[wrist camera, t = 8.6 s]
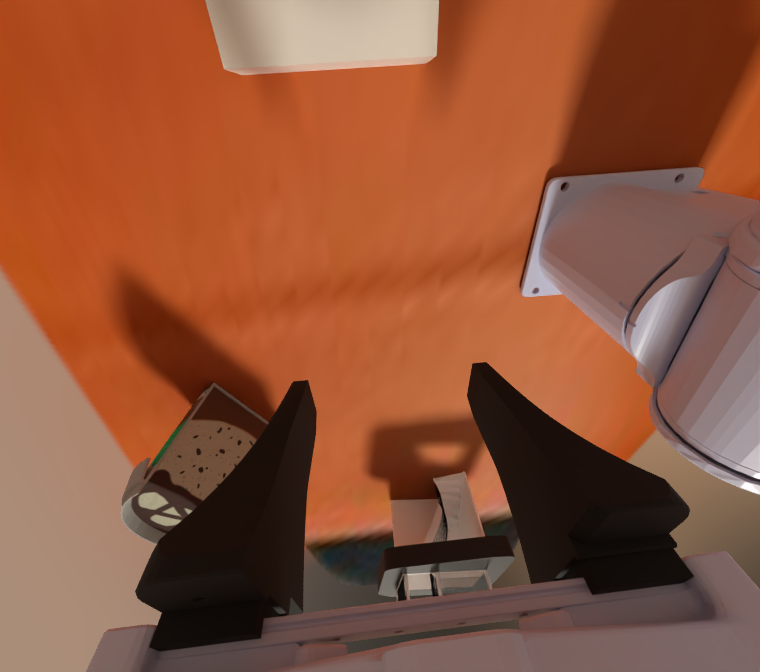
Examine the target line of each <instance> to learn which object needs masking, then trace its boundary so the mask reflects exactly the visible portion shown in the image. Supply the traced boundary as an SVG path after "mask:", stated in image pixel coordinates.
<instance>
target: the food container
mask: <svg viewBox="0 0 760 672" xmlns="http://www.w3.org/2000/svg"><path fill="white" fill-rule="evenodd" d="M268 423H269V422H268V421H266V420H265V419H264V418H262V417H261V416H259V415H258V414H257V413H255V412H254V411H253V410H251V409H250V408H248V407H247V406H246V405H244V404H243V403H242V402H240V401H239V400H238V399H236V398H235V397H233V396H232V395H231V394H229V393H228V392H227V391H225V390H224V389H223V388H221V387H220V386H218V385H217V384H216V383H214V382H213V383H212V384H210V385H209V386H208V387H206V388H205V389H204V391H203V392H202V394H201V395H200V396H199V398H198V399H197V400H196V402H195V403H194V405H193V406H192V407H191V409H190V410H189V412H188V413H187V414H186V416H185V417H184V418H183V420H182V421H181V423H180V424H179V425H178V427H177V428H176V430H175V431H174V432H173V434H172V435H171V436H170V438H169V439H168V441H167V442H166V443H165V445H164V446H163V448H162V449H161V450H160V452H159V453H158V455H157V456H156V457H155V459H154V460H153V461H152V463H151V464H150V466H149V467H148V464H149V461H150V459H151V458H147V459H145V460H144V461H142V462H141V463H139V465H138V466H137V467H136V468H135V469H134V470H133V472H132V474H131V476H130V479H129V481H128V484H127V487H126V490H125V492H124V495H123V498H122V509H121V518H122V521H123V523H124V524H125V525H126V527H127V528H128V529H129V530H130V531H131V532H132V533H134V534H135V535H137V536H139V537H140V538H142V539H144V540H146V541H148V542H150V543H153V544H156V545H157V543H158V541H159V539H160V538H162V537H163V536H164V535H165V534H167V533H168V532H169V531H170V530H171V529H172V528H174V527H175V526H176V525H177V524H178V523H179V522H180V521H182V520H183V519H184V518H185V517H186V516H187V515H189V514H190V513H191V512H192V511H193V510H194V509H195V508H196V507H197V506H198V505H199V504H200V503H201V502H202V501H203V500H204V499H205V498H206V497H207V496H208V495H209V494H210V493H211V492H213V491H214V490H215V489H216V488H217V487H218V486H219V484H220V483H221V482H222V481H223V480H224V479H225V478H226V477H227V476H228V475H229V474H230V472H231V471H232V470H233V469H234V468H235V467H236V466H237V465H238V463H239V462H240V461H241V460H242V459H243V457H244V456H245V455H246V454H247V452H248V451H249V450H250V449H251V447H252V446H253V445H254V443H255V442H256V441H257V439H258V438H259V436H260V435H261V433H262V432H263V431H264V429H265V428H266V426H267V425H268ZM147 467H148V468H147Z"/></svg>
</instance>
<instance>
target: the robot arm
mask: <svg viewBox="0 0 760 672" xmlns="http://www.w3.org/2000/svg"><path fill="white" fill-rule="evenodd" d="M678 175H679V176H678ZM703 175H704V169H703V168H699V167H687V168H674V169H660V170H647V171H633V172H620V173H606V174H593V175H579V176H566V177H555V178H552V179H551V180H550V181H549V182H548V183H547V185H546V187H545V192H544V196H543V200H542V204H541V208H540V212H539V216H538V220H537V224H536V228H535V232H534V236H533V240H532V244H531V248H530V252H529V256H528V260H527V265H526V269H525V273H524V277H523V281H522V285H521V289H520V292H521V294H522V295H523V296H524V297H534V296H546V295H558V294H563V295H564V296H566V297H567V298H568V299H569V300H570V301H571V302H572V303H574V304H575V305H576V306H577V307H578V308H579V309H580V310H581V311H583V312H584V313H585V314H586V315H587V316H588V317H589V318H590V319H592V320H593V321H594V322H595V323H596V324H597V325H598V326H600V327H601V328H602V329H603V330H604V331H605V332H606V333H607V334H609V335H610V336H611V337H612V338H613V339H614V340H615V341H616V342H618V343H619V344H620V345H621V346H622V347H623V348H624V349H626V350H627V351H628V352H629V353H630V354H631V355H632V356H633V357H634V358H635V359H636V361H637V369H636V373H637V374H638V375H639V376H641V377H642V378H643V379H644V380H645V381H646V382H647V383H648V384H649V385H650V386H651V387H652V388H653V389H654V390H653V391H652V393H651V395H650V399H649V413H650V416H651V419H652V422H653V423H654V425H655V427H656V429H657V430H658V431H659V433H660V434H661V435H662V436H663V438H664V439H665V440H666V441H667V442H668V443H669V444H670V445H671V446H672V447H673V448H674V449H675V450H676V451H678V452H679V453H680V454H681V455H682V456H684V457H685V458H686V459H688V460H689V461H691V462H692V463H693V464H695V465H697V466H698V467H700V468H701V469H703V470H704V471H706V472H708V473H710V474H712V475H714V476H715V477H717V478H719V479H721V480H723V481H726V482H728V483H730V484H732V485H735V486H737V487H739V488H742V489H745V490H748V491H751V492H753V493H756V494H759V495H760V201H758V200H754V199H749V198H745V197H740V196H736V195H731V194H727V193H722V192H718V191H713V190H709V189H704V188H700V187H698V185H699V183H700V181H701V180H702V178H703ZM677 176H678V178H677V179H676V180H675V178H676V177H677ZM565 182H566V186H565V188H564V189H563V190H561V185H562V184H563V183H565ZM534 288H537V289H536V290H535V291H533V289H534ZM467 397H468V401H469V404H470V407H471V410H472V414H473V417H474V419H475V421H476V424H477V426H478V428H479V430H480V433H481V435H482V437H483V439H484V441H485V444H486V446H487V448H488V450H489V452H490V455H491V457H492V459H493V461H494V463H495V466H496V468H497V471H498V473H499V476H500V479H501V482H502V485H503V488H504V491H505V494H506V497H507V500H508V503H509V507H510V510H511V513H512V516H513V519H514V523H515V526H516V529H517V533H518V536H519V540H520V543H521V547H522V550H523V554H524V558H525V562H526V565H527V569H528V573H529V577H530V581H531V584H528V585H521V586H513V587H505V588H498V589H489V590H482V591H474V592H466V593H458V594H450V595H443V596H435V597H428V598H420V599H412V600H404V601H396V602H388V603H381V604H373V605H365V606H357V607H350V608H342V609H334V610H326V611H318V612H310V613H304V614H302V613H303V571H304V541H305V519H306V501H307V489H308V481H309V475H310V468H311V462H312V455H313V449H314V442H315V435H316V412H317V411H316V408H315V404H314V401H313V397H312V393H311V390H310V386H309V382H308V380H305V381H295V382H293V383H292V384H291V386H290V388H289V390H288V392H287V393H286V395H285V397H284V399H283V401H282V402H281V404H280V406H279V407H278V409H277V411H276V412H275V414H274V415H273V417H272V419H271V420H270V422H269V423H268V425H267V426H266V428H265V429H264V431H263V432H262V433H261V435H260V436H259V438H258V439H257V441H256V442H255V443H254V445H253V446H252V447H251V449H250V450H249V451H248V452H247V454H246V455H245V456H244V457H243V459H242V460H241V461H240V462H239V463H238V465H237V466H236V467H235V468H234V469H233V470H232V471H231V472H230V474H229V475H228V476H227V477H226V478H225V479H224V480H223V481H222V482H221V483H220V484H219V486H218V487H217V488H216V489H215V490H214V491H213V492H211V493H210V494H209V495H208V496H207V497H206V498H205V499H204V500H203V501H202V502H201V503H200V504H199V505H198V506H197V507H196V508H195V509H194V510H193V511H192V512H191V513H190V514H189V515H187V516H186V517H185V518H184V519H183V520H182V521H180V522H179V523H178V524H177V525H176V526H175V527H174V528H172V529H171V530H170V531H169V532H168V533H167V534H165V535H164V536H163V537H162V538H160V539H159V541H158V543H157V545H156V547H155V549H154V551H153V552H152V555H151V557H150V559H149V561H148V563H147V566H146V568H145V570H144V572H143V575H142V577H141V580H140V582H139V584H138V586H137V588H136V591H135V592H136V595H137V598H138V599H139V600H141V601H142V602H144V603H145V604H148V605H149V606H151V607H153V608H155V609H156V610H158V611H160V612H162V614H161V617H160V620H159V622H158V625H157V626H156V625H138V626H131V627H123V628H115V629H109V630H107V631H106V632H105V633H104V634H103V637H102V639H101V641H100V643H99V645H98V647H97V649H96V652H95V654H94V656H93V658H92V660H91V662H90V664H89V666H88V669H87V671H86V672H760V590H759V588H758V587H757V586H756V585H755V584H754V583H753V582H752V580H751V579H750V578H749V577H748V576H747V575H746V573H745V572H744V571H743V570H742V569H741V568H740V566H739V565H738V564H737V563H736V562H735V561H734V559H733V558H732V557H731V556H730V555H729V554H728V553H727V552H725V551H719V552H711V553H703V554H696V555H690V556H687V557H684V558H680V557H679V555H678V554H677V553H676V551H675V550H674V549H673V548H676V547H677V543H676V542H675V541H674V539H673V538H672V537H671V535H670V534H669V533H670V532H671V531H672V530H673V529H675V528H676V527H677V526H678V525H680V523H682V522H683V521H684V520H685V519H686V518H687V517H688V515H689V512H690V509H689V507H688V505H687V504H686V503H685V502H684V501H683V499H682V498H681V497H680V496H679V495H678V494H677V492H676V491H675V490H674V489H673V488H672V487H671V486H670V484H669V483H667V481H666V480H665V479H663V478H660V477H658V476H656V475H654V474H652V473H650V472H647V471H645V470H643V469H641V468H639V467H637V466H634V465H632V464H630V463H628V462H626V461H624V460H622V459H620V458H618V457H616V456H614V455H612V454H610V453H608V452H607V451H605V450H603V449H601V448H599V447H597V446H596V445H594V444H592V443H590V442H589V441H587V440H585V439H584V438H582V437H580V436H579V435H577V434H575V433H574V432H572V431H571V430H569V429H567V428H566V427H565V426H563V425H562V424H560V423H559V422H557V421H556V420H554V419H553V418H551V417H550V416H549V415H547V414H546V413H544V412H543V411H542V410H541V409H539V408H538V407H537V406H535V405H534V404H533V403H532V402H530V401H529V400H528V399H527V398H525V397H524V396H523V395H522V394H521V393H520V392H518V391H517V390H516V389H515V388H514V387H513V386H512V385H510V384H509V383H508V382H507V381H506V380H505V379H504V378H503V377H502V376H501V375H500V374H498V373H497V372H496V371H495V370H494V369H493V368H492V367H491V366H490V365H489V364H488V363H486V362H483V363H473V364H472V369H471V375H470V381H469V387H468V393H467ZM522 618H526V619H522ZM515 619H522V620H520V622H519V628H518V629H517V630H513V629H498V630H488V631H481V632H473V633H465V634H459V635H451V636H443V637H435V638H428V639H421V640H414V641H408V642H403V643H398V644H396V645H391V646H386V647H381V648H377V649H372V650H367V651H362V652H357V653H353V654H347V647H346V646H345V645H340V644H339V645H338V644H336V645H335V644H334V643H341V642H348V641H356V640H364V639H371V638H379V637H387V636H394V635H402V634H409V633H417V632H424V631H432V630H439V629H447V628H454V627H462V626H470V625H476V624H485V623H492V622H500V621H507V620H515Z"/></svg>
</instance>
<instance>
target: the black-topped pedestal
mask: <svg viewBox="0 0 760 672" xmlns="http://www.w3.org/2000/svg"><path fill="white" fill-rule="evenodd" d="M433 481H434V483H435V485H436V486H435V488H436V490H437V491H436V493H437V494H439V495H437V498H438V499H419V500H391V501H390V502H391V513H392V524H393V535H394V547H391V548H387V549H385V550H384V551H383V554H382V558H381V562H380V565H379V569H378V573H377V574H378V594H379V595H384V596H389V597H396V598H397V601H404V600H406V597H407V600H410V596H415V595H433V597H435V595H436V594H437V595H436V596H443V595H442V594H451V593H452V594H453V593H454V594H455V593H456V594H457V593H466V592H474V591H482V590H489V589H492V586H491V585H492V584H493V583H494V581H496V579H497V578H498V577H499V576H500V575H501V574H502V573H503V572H504V571H505V570H506V569H507V568H508V566H509V565H510V564H511V563H512V562H513V561H514V560H515V556H514V553H513V550H512V547H511V545H510V542H509V539H508V537H507V536H485V535H484V531H483V528H482V525H481V522H480V518H479V515H478V512H477V508H476V505H475V502H474V499H473V495H472V492H471V489H470V485H469V482H468V479H467V476H466V472H462V473H457V474H452V475H448V476H443V477H438V478H433ZM488 588H489V589H488Z"/></svg>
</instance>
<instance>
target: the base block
mask: <svg viewBox="0 0 760 672" xmlns="http://www.w3.org/2000/svg"><path fill="white" fill-rule="evenodd" d="M205 1H206V4H207V8H208V12H209V16H210V19H211V23H212V27H213V30H214V34H215V38H216V41H217V45H218V49H219V53H220V56H221V60H222V64H223V67H224V69H225V70H228V71H231V72H234V73H237V74H240V75H252V74H268V73H284V72H300V71H316V70H332V69H347V68H363V67H379V66H395V65H411V64H426V63H427V62H429V61H430V60H432V59H433V58H434V57H436V56H437V37H438V14H439V0H205Z"/></svg>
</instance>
